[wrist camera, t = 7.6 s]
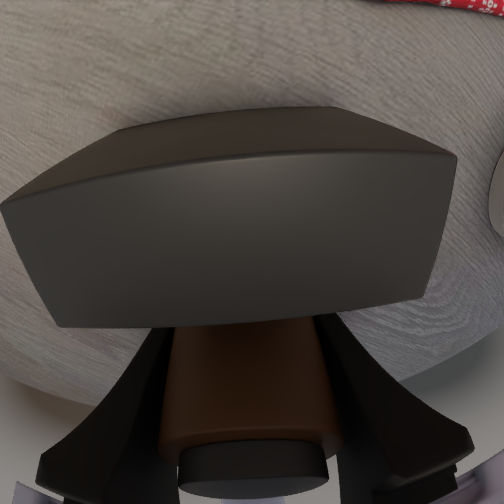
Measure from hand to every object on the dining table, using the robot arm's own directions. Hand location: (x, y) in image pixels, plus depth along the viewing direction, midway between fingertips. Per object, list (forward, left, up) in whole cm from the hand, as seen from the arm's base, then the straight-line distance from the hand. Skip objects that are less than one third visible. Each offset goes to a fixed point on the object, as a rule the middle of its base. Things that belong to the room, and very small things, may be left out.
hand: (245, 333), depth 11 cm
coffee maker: (+1, 0, -3) cm, 3 cm away
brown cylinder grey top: (0, 0, -2) cm, 2 cm away
